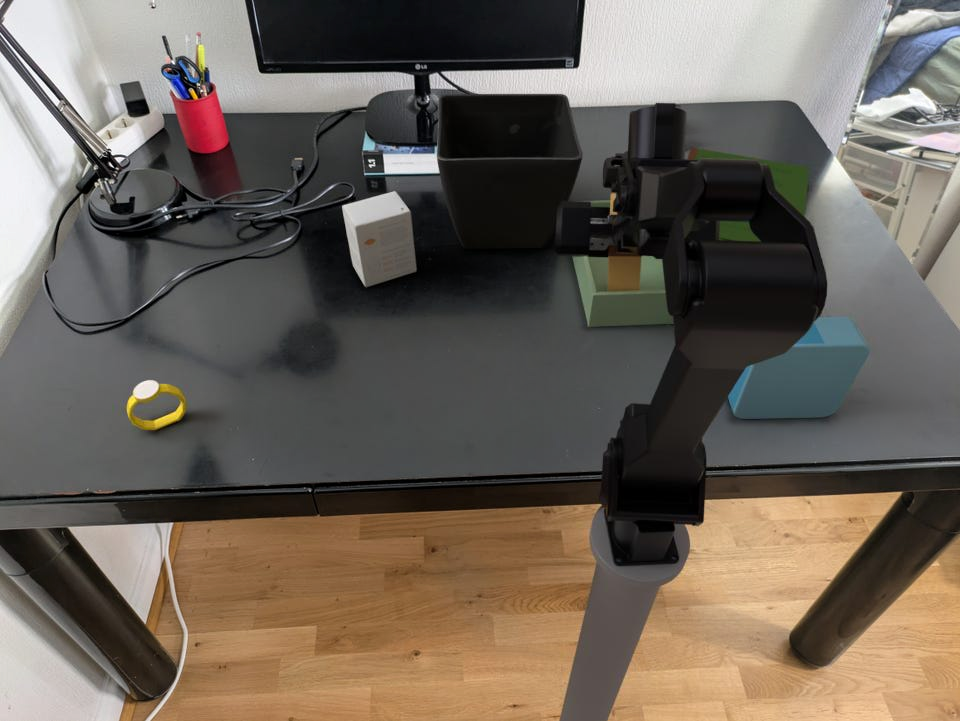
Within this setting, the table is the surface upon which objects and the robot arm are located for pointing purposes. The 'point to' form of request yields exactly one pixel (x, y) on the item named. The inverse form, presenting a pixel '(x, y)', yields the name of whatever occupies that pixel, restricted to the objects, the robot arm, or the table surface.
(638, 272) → the chocolate carton
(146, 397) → the watch
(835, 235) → the table surface
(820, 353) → the blue rounded flat block
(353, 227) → the small box
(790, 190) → the hardcover book
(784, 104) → the table surface
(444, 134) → the flower pot
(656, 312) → the green open tray
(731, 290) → the robot arm
